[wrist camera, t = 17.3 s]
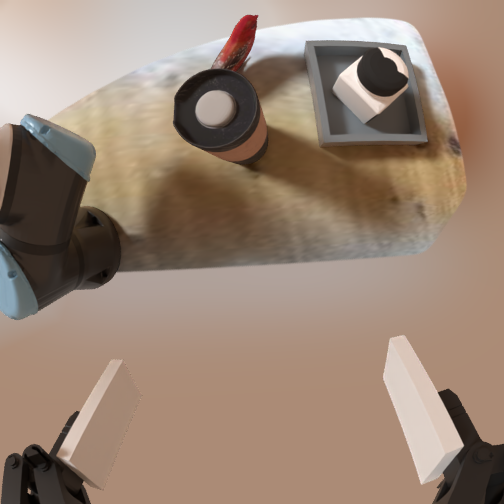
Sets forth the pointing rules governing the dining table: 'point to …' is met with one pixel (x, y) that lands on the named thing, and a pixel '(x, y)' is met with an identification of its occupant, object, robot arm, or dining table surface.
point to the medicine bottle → (372, 83)
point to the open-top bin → (341, 117)
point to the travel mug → (221, 116)
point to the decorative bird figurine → (237, 45)
